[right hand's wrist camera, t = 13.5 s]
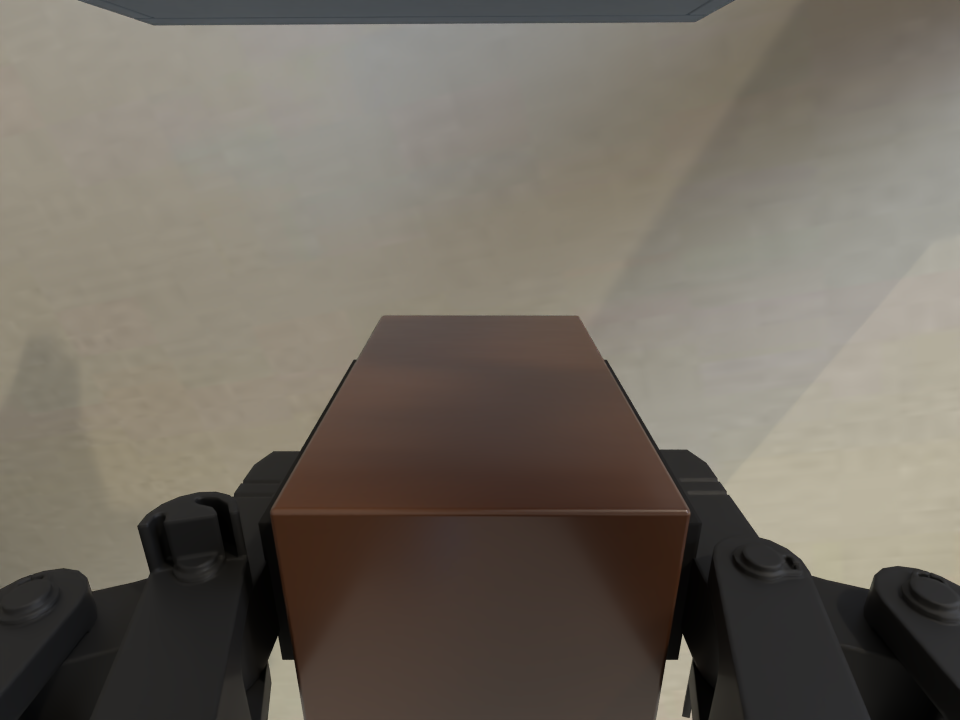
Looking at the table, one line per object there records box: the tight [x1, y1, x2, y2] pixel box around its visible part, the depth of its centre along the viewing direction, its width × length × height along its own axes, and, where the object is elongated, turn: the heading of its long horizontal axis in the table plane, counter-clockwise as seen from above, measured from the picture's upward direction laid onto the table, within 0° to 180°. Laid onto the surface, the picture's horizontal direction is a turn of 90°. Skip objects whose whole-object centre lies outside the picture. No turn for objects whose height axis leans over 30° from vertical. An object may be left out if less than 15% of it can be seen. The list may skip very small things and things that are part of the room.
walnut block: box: [270, 316, 690, 720], centre depth 11 cm, size 5×5×8 cm
